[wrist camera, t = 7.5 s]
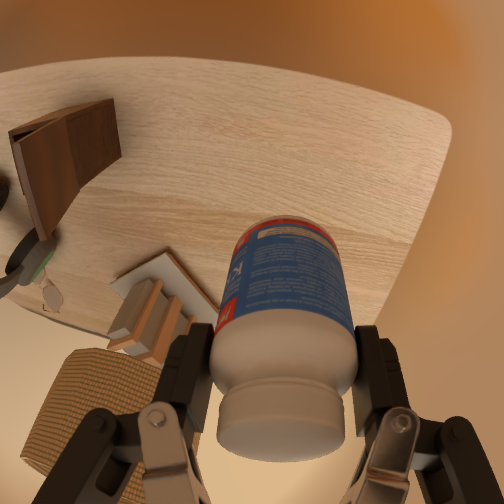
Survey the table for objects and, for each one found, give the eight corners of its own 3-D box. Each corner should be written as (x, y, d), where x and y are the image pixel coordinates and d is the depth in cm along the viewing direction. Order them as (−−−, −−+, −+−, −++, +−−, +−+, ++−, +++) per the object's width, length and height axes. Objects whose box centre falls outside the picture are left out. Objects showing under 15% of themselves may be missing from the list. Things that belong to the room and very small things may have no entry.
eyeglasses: (66, 303, 58) (57, 316, 55) (45, 303, 60) (36, 315, 57) (33, 248, 51) (21, 260, 48) (13, 252, 53) (2, 264, 50)
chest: (69, 162, 41) (23, 195, 32) (59, 109, 36) (7, 131, 27) (121, 156, 40) (79, 190, 31) (113, 97, 35) (64, 116, 26)
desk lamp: (97, 274, 52) (0, 448, 23) (177, 226, 46) (67, 468, 16) (166, 343, 61) (115, 510, 32) (249, 314, 54) (220, 528, 25)
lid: (40, 241, 22) (47, 240, 22) (11, 144, 17) (19, 141, 17) (73, 192, 30) (80, 191, 30) (58, 117, 26) (65, 116, 26)
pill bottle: (228, 211, 15) (172, 394, 7) (342, 211, 15) (393, 398, 7) (237, 298, 18) (208, 463, 10) (332, 299, 18) (349, 466, 10)
